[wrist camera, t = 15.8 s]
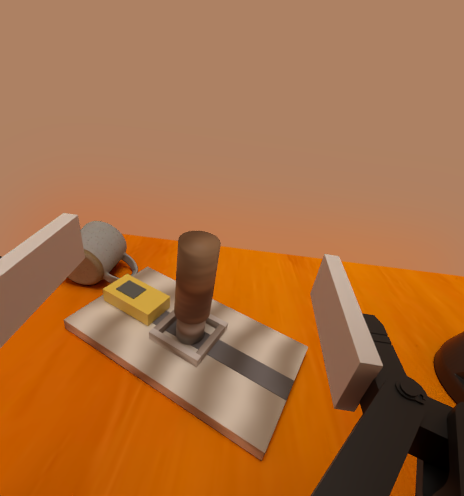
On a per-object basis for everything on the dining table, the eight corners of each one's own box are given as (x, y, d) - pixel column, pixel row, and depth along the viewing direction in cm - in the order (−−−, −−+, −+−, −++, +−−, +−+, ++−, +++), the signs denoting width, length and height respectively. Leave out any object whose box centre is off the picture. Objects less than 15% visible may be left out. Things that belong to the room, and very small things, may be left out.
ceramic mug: (57, 284, 44) (49, 240, 40) (85, 255, 51) (80, 215, 47) (126, 296, 44) (125, 255, 40) (144, 266, 51) (145, 228, 47)
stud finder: (169, 307, 41) (170, 295, 40) (148, 326, 38) (148, 313, 37) (127, 284, 44) (127, 273, 43) (103, 300, 41) (102, 288, 40)
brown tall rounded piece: (213, 330, 39) (228, 240, 32) (194, 353, 35) (205, 257, 28) (186, 316, 40) (194, 226, 33) (165, 336, 37) (169, 241, 30)
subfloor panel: (305, 354, 40) (310, 340, 38) (261, 460, 28) (267, 446, 27) (147, 273, 49) (147, 260, 48) (65, 328, 38) (62, 312, 36)
